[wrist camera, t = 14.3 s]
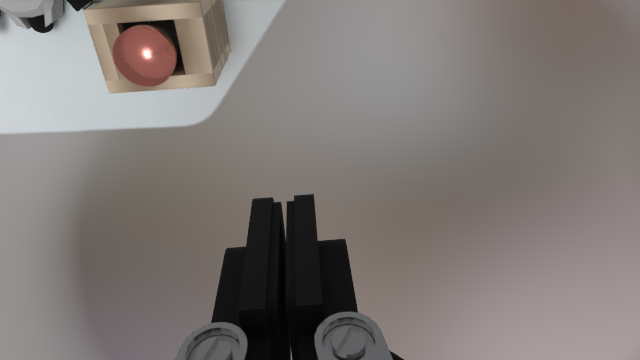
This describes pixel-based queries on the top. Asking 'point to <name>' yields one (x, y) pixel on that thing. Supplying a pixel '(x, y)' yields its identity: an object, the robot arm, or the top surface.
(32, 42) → the top surface
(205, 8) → the open wooden box
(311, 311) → the robot arm
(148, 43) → the plunger
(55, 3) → the robot toy
